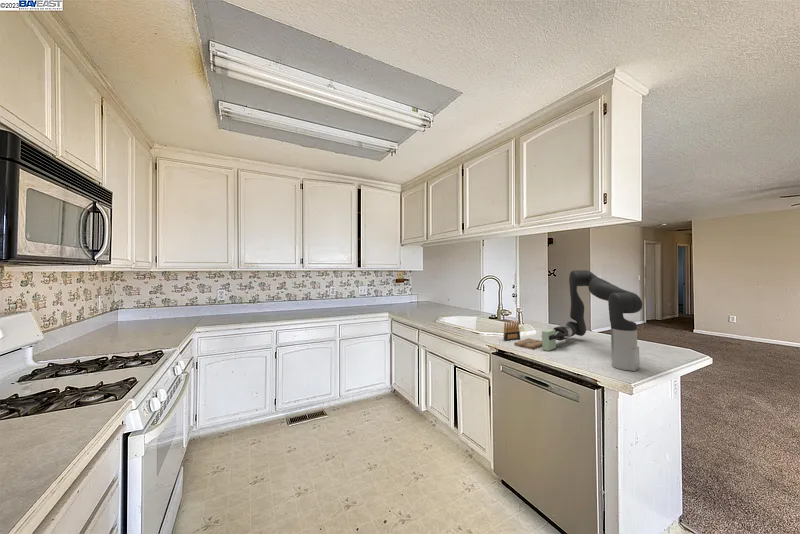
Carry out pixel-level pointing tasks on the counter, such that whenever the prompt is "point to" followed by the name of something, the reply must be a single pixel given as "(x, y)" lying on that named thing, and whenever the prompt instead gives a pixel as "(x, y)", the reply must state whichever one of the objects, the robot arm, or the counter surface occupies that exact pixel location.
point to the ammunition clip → (511, 331)
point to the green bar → (546, 342)
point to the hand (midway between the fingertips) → (546, 337)
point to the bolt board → (529, 344)
